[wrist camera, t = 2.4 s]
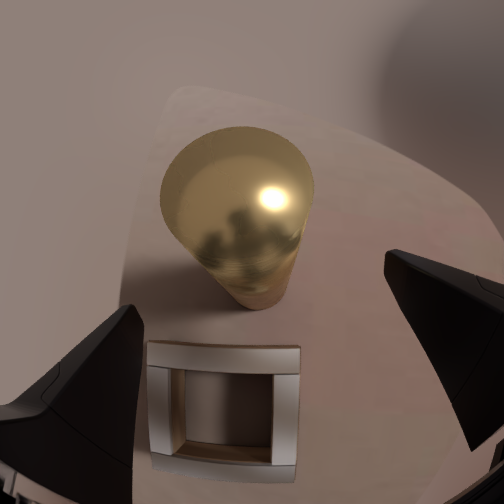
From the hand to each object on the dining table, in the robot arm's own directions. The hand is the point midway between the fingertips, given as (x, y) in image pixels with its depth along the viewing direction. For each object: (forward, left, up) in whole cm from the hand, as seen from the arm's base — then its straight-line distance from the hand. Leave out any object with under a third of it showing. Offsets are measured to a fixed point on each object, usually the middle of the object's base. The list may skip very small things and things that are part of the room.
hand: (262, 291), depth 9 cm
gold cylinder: (+2, +1, -10) cm, 10 cm away
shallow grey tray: (-7, +3, -10) cm, 12 cm away
